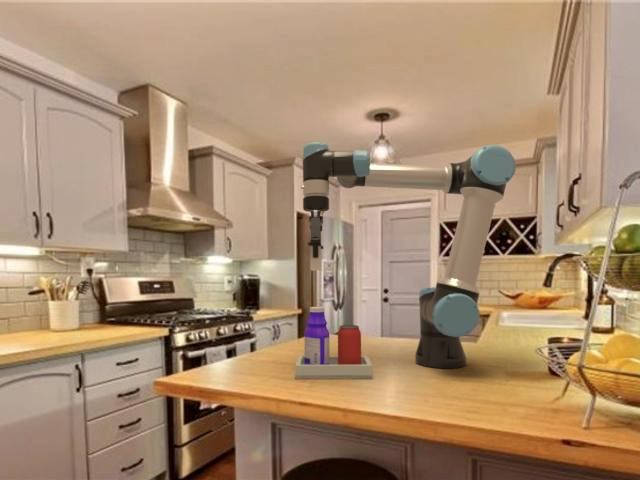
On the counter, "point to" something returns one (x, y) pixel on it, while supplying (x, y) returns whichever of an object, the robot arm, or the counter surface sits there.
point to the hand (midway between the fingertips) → (316, 270)
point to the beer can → (349, 345)
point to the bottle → (316, 338)
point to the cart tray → (333, 370)
